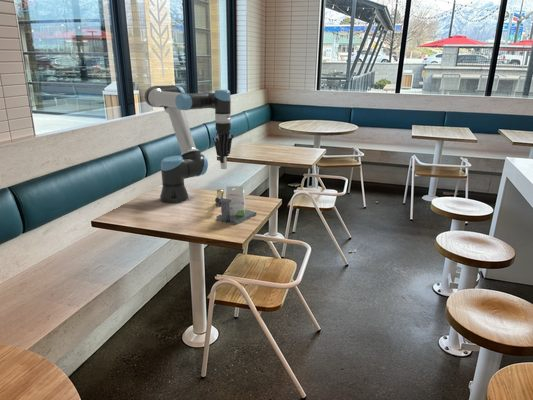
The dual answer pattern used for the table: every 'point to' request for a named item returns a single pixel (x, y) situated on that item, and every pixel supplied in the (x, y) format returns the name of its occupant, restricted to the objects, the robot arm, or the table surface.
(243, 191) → the ink box
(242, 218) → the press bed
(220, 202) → the lever post
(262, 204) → the table surface
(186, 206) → the table surface
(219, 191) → the lever
